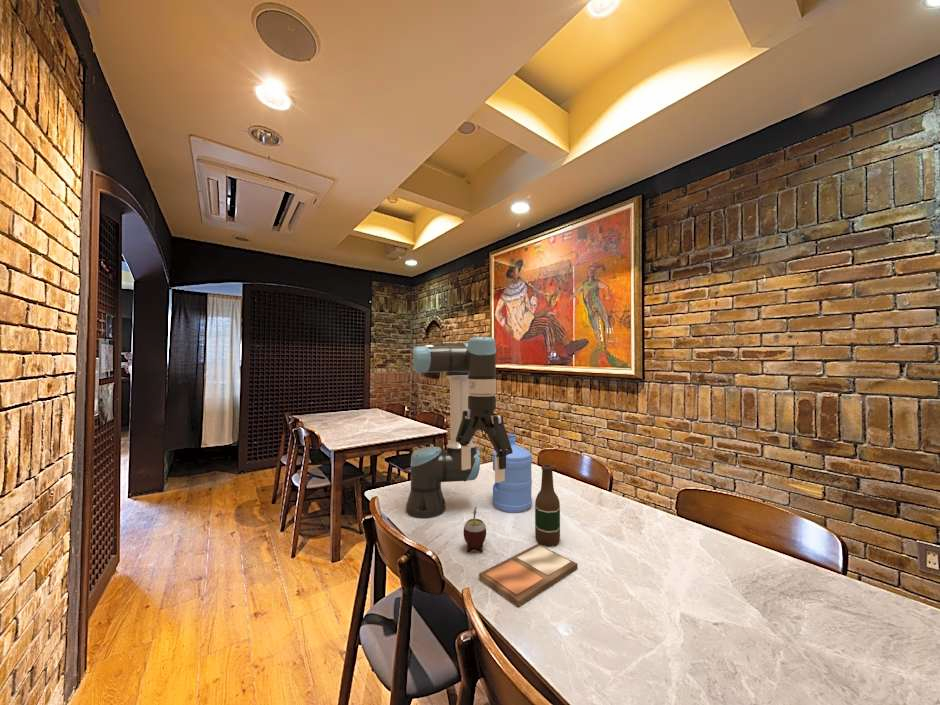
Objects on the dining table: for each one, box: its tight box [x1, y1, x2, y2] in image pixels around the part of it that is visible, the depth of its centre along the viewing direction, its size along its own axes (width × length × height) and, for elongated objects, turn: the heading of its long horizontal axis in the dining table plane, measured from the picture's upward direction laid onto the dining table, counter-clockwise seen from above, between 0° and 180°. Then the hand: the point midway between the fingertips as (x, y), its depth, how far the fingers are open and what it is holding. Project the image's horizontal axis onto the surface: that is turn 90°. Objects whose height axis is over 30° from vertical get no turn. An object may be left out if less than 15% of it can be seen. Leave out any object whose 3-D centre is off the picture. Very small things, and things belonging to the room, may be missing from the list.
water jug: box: [491, 433, 533, 513], centre depth 144 cm, size 16×16×28 cm
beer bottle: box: [534, 464, 561, 548], centre depth 115 cm, size 8×8×24 cm
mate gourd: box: [462, 506, 487, 554], centre depth 110 cm, size 8×8×15 cm
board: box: [478, 543, 578, 608], centre depth 97 cm, size 14×24×2 cm, turn 130°
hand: (482, 475), depth 96 cm, fingers open, 13 cm apart
